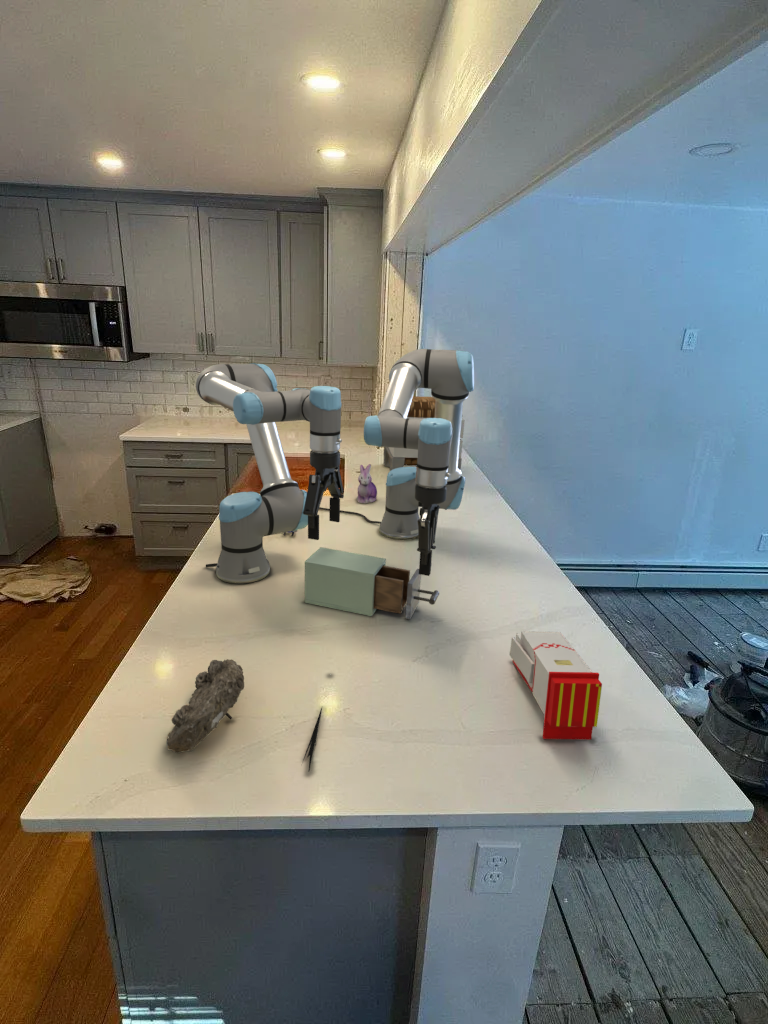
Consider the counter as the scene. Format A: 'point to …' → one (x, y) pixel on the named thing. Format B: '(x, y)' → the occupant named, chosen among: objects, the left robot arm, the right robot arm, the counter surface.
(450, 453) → the right robot arm
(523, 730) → the counter surface
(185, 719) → the fossil
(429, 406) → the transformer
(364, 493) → the figurine
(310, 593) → the cabinet
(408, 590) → the drawer
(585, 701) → the toy
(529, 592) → the counter surface
